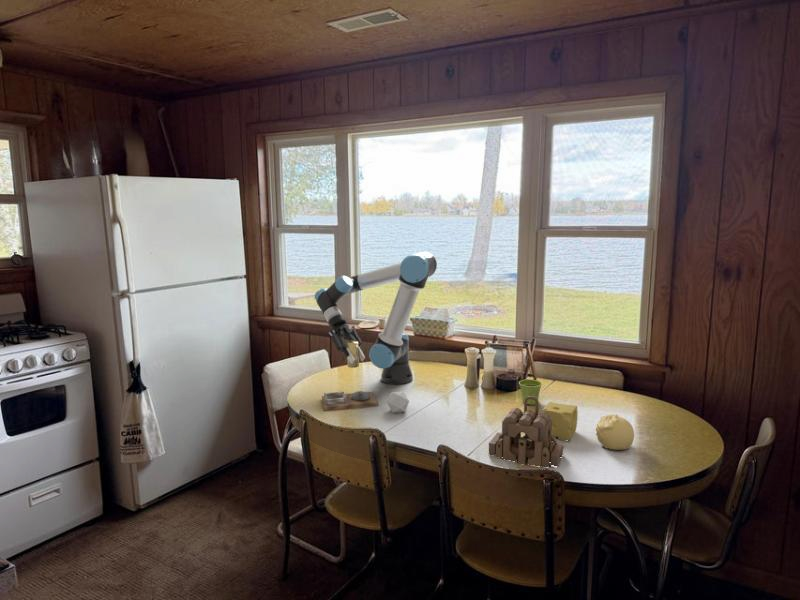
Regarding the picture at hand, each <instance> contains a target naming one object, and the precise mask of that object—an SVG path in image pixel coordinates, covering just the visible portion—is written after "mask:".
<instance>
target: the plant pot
mask: <svg viewBox="0 0 800 600" xmlns="http://www.w3.org/2000/svg"><path fill="white" fill-rule="evenodd" d="M518 385H519V387H520V394H521V400H522V404H524V401H525V399H526V397H528V396H533V397H536V398H537V399H538V400H539V396H540V391H541V387H542V386H543V383H542V381H540V380H537V379H536V380H535V379H522V380H519V382H518ZM527 404H528V405H530V406H532V405H531V404H536V402H535V401H534V400H532V399H529V400H528V403H527Z"/></svg>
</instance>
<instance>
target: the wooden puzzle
mask: <svg viewBox="0 0 800 600" xmlns="http://www.w3.org/2000/svg"><path fill="white" fill-rule="evenodd" d="M529 399H532V400H534V401H535V402H536V405H535V407H534V408H535V410H532V409H528V405H527V403H528V400H529ZM539 401H540V400H539V398H538V399H537V398H536V397H533V396H528V397H526V399H525V401H524V403H523V404H524V405H523V411H522V409H520V408H519V407H513V408H511V410H509V412H508V413H507V415H505V417H504V419H502V421H501V432H496V434H494V436H493V438H491V440H490V442H488V455H489V454H490V455H489V456H492V455H495V458H496V457H500V458H499V459H501V458H502V457H503V458H502V460H503V459H505V460H504V461H507V460H511V461H510V462H512V461H515V462H514V463H516V462H517V463H518V464H517V465H521V464H524V465H523V466H525V465H528V464H529V465H528V466H530V465H535V466H540V467H541V466H542V467H541V468H543V467H549V468H550V465H554V466H558V467H559V465H558V464H560V459H559V458H560V457H562V458H563V456H564V444H563V443H560V442H557V437H554V436H553V435H551V431H552V418H550V416H549V414H548V413H546V412H542V411H541V412H540V411H539V408H540V405H539V404H540V402H539ZM522 433H524V435H523V436H522ZM562 455H563V456H562ZM516 460H518V461H516ZM549 462H551V463H549ZM535 466H534V467H535ZM540 467H539V468H540Z"/></svg>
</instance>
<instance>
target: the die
mask: <svg viewBox="0 0 800 600" xmlns="http://www.w3.org/2000/svg"><path fill="white" fill-rule="evenodd" d="M386 403H387V404H386V405H387V406H388V407H389V409H390V411H391V412H392V413H393V414H396V413H397V414H398V413H405V412H406V411H407V408H408V406H409V403H410V400H409V398H408V397H407V395H406V393H405V392H404V391H392V392H390V394H389V396H388V400H387V402H386Z"/></svg>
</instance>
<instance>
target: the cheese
mask: <svg viewBox="0 0 800 600" xmlns="http://www.w3.org/2000/svg"><path fill="white" fill-rule="evenodd" d="M541 412H546V413H548V414H549V416H550V418H552V431H551V435H553V436H554V437H555V438H557V437H558V438H557V439H558V440H560V439H563V440H562V441H564V440H568V441H569V440H570V441H571V439H572V437H573V436H574V435H575V433H576V432H575V431H577V425H578V415H579V414H578V413H579V411H578V405H574V404H564V403H559V402H553V401H549V402H548V403H547V404H546V405H545V406H544V408H543V409H541ZM573 434H574V435H573ZM572 435H573V436H572ZM568 441H567V442H568ZM570 441H569V442H570Z"/></svg>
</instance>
